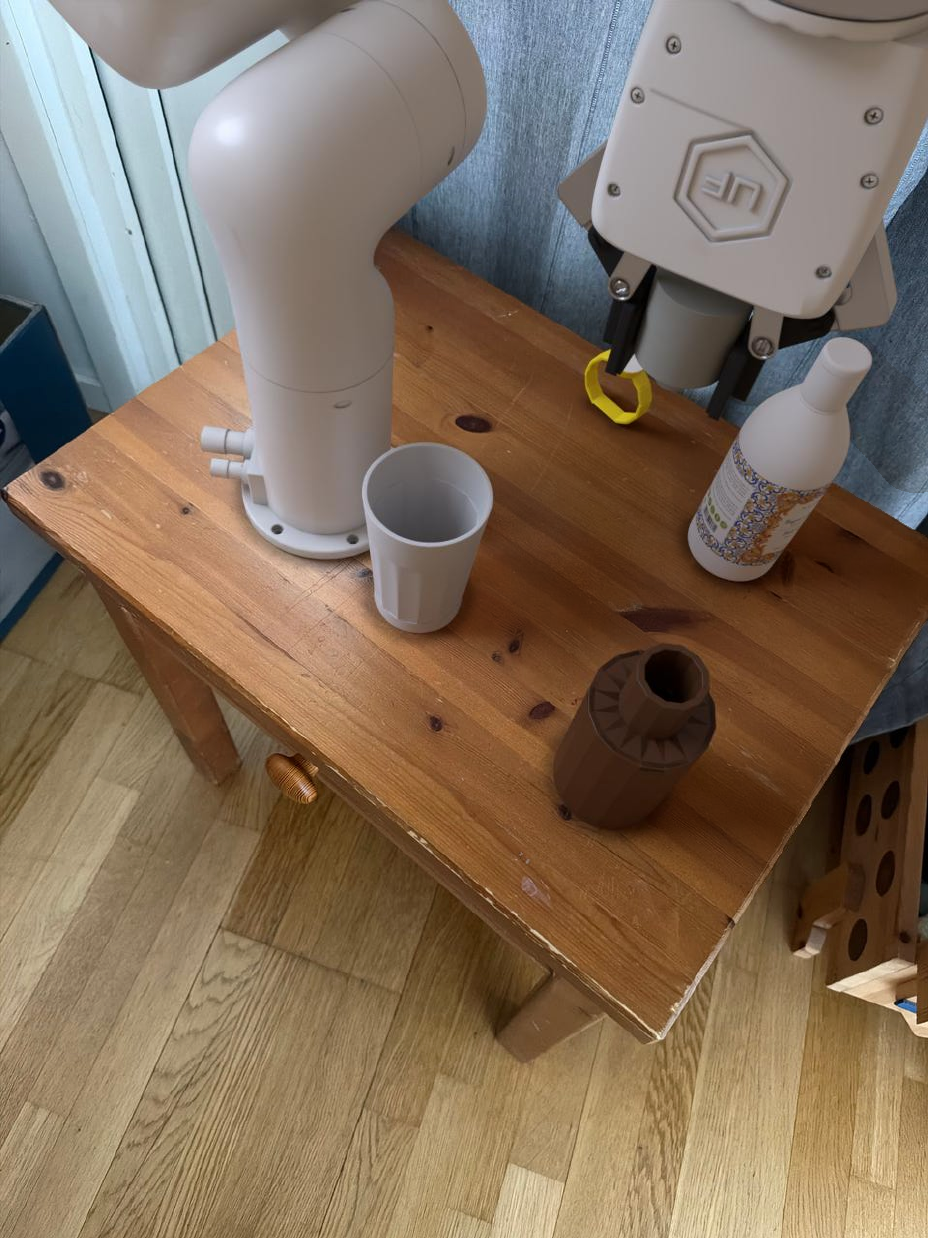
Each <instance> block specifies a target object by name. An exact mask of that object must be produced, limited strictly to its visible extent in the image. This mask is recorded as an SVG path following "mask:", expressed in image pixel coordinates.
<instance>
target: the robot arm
mask: <svg viewBox="0 0 928 1238" xmlns="http://www.w3.org/2000/svg"><path fill="white" fill-rule="evenodd" d="M46 1H47V2H48V3H49V4H50V5H51V6H52V7H53V9H54V10H55V11H56V12H57V13H58V15H60V16H61V18H62V19H63V20H64V21H65V22H66V24H68V25H69V27H70V28H72V30H73V31H74V32H75V33H76V34H77V36H78V37H80V38H81V39H82V40H83V42H84V43H85V44H86V45H87V46H88V47H89V48H90V49H91V50H92V51H93V52H94V53H95V54H96V55H97V56H98V57H99V58H100V59H101V60H102V61H103V62H104V63H105V64H106V65H107V66H109V67H110V68H111V69H112V70H113V71H115V73H117V74H118V75H119V76H121V77H122V78H124V79H125V80H127V81H128V82H130V83H131V84H133V85H135V86H137V87H139V88H144V89H148V90H158V91H159V90H160V91H162V90H168V89H172V88H177V87H179V86H183V85H184V84H187V83H189V82H191V81H194V80H196V79H198V78H199V77H201V76H203V75H205V74H207V73H209V72H210V71H213V70H214V69H216V68H218V67H219V66H221V65H222V64H224V63H226V62H227V61H229V60H231V59H232V58H235V56H237V55H239V54H241V53H242V52H244V51H245V50H247V49H248V48H250V47H252V46H253V45H255V44H257V43H258V42H260V41H262V40H264V39H265V38H266V37H268V36H270V35H271V34H273V33H274V32H276V31H277V30H278V31H279V32H280V33H282V35H283V36H284V37H285V38H286V39H287V40H288V42H286V43H284V44H283V45H282V46H280V47H278V48H277V49H275V50H274V51H272V52H270V53H269V54H268V55H266V56H264V57H263V58H261V59H260V60H258V61H256V62H255V63H253V64H252V65H251V66H249V67H247V68H246V69H245V70H243V71H242V72H241V73H239V74H238V75H237V76H236V77H234V78H233V79H232V80H230V81H229V82H228V83H227V84H226V85H225V86H224V87H223V88H222V89H221V90H220V91H219V92H218V93H216V95H215V96H214V97H213V98H212V100H211V101H210V102H209V103H208V104H207V106H206V107H205V108H204V109H203V111H202V113H201V114H200V116H199V117H198V119H197V121H196V123H195V125H194V128H193V131H192V134H191V137H190V141H189V147H188V154H187V158H188V159H187V165H188V166H187V168H188V175H189V180H190V184H191V189H192V192H193V195H194V197H195V201H196V204H197V205H198V209H199V211H200V214H201V216H202V219H203V221H204V224H205V227H206V228H207V231H208V233H209V236H210V238H211V241H212V243H213V245H214V249H215V251H216V253H217V257H218V259H219V262H220V266H221V268H222V272H223V275H224V278H225V282H226V287H227V290H228V295H229V299H230V303H231V309H232V314H233V315H232V316H233V320H234V326H235V332H236V338H237V345H238V348H239V351H240V357H241V363H242V369H243V376H244V382H245V387H246V388H245V389H246V393H247V399H248V400H247V401H248V406H249V414H250V418H251V425H252V427H247V429H246V430H245V432H244V431H237V430H230V428H226V427H220V426H211V425H204V426H203V428H202V430H201V435H200V448H201V451H202V452H204V453H210V454H211V453H212V454H219V455H225V456H226V455H233V456H234V455H235V456H241V457H243V459H244V461H243V462H241V461H234V460H232V459H225V458H218V457H212V459H211V460H210V465H209V473H210V476H211V477H212V478H219V479H228V480H229V479H234V480H241V487H240V488H241V496H242V502H243V506H244V511H245V513H246V516H247V517H248V519H249V521H250V524H251V525H252V526H253V528H254V529H255V530H256V531H257V532H258V533H259V534H260V536H262V538H263V539H265V540H266V541H268V542H269V543H270V544H272V545H273V546H274V547H276V548H278V549H280V550H283V551H284V552H286V553H288V554H291V555H295V556H298V557H302V558H305V559H306V558H307V559H313V560H314V559H316V560H339V559H345V558H349V557H354V556H357V555H360V554H362V553H365V552H368V551H370V546H369V538H368V530H367V524H366V517H365V510H364V504H363V497H362V487H363V482H364V479H365V476H366V474H367V472H368V470H369V468H370V467H371V466H372V464H373V463H374V462H375V461H376V460H377V459H378V458H379V457H380V456H382V455H383V454H385V453H386V452H388V451H390V450H392V449H394V448H395V447H394V446H392V422H393V421H392V420H393V394H394V393H393V392H394V391H393V390H394V366H395V365H394V362H395V332H396V331H395V330H396V315H395V313H396V312H395V303H394V298H393V294H392V290H391V287H390V285H389V283H388V282H387V279H386V278H385V277H384V275H383V274H382V273H381V271H379V269H378V268H376V265H375V264H374V263H375V262H374V261H375V253H376V250H377V247H378V245H379V243H380V241H381V240H382V238H383V236H384V235H385V234H386V233H387V232H388V231H389V230H390V229H391V228H392V227H393V226H394V225H395V224H396V223H397V222H398V221H399V220H400V219H402V218H403V217H404V216H405V215H406V214H407V213H408V212H409V211H410V210H411V209H412V208H413V207H414V206H415V205H416V204H417V203H418V202H420V201H421V200H422V199H423V198H424V197H425V196H426V195H428V194H429V193H430V192H432V190H434V189H435V188H436V187H437V186H438V185H439V184H441V183H442V182H443V181H444V180H445V179H446V178H447V177H449V176H450V174H451V173H453V171H454V170H456V169H457V168H458V167H459V166H460V165H461V164H462V163H463V162H464V161H465V160H466V159H467V158H468V156H469V155H470V154H471V152H473V150H474V149H475V147H476V145H477V144H478V142H479V140H480V137H481V135H482V133H483V129H484V127H485V124H486V119H487V113H488V89H487V82H486V75H485V72H484V68H483V65H482V62H481V60H480V57H479V54H478V51H477V49H476V47H475V45H474V42H473V41H472V39H471V36H470V35H469V33H468V31H467V29H466V27H465V25H464V24H463V22H462V20H461V19H460V17H459V16H458V14H457V12H456V11H455V10H454V8H453V7H452V5H451V4H450V2H449V0H46ZM647 15H648V16H647V18H646V21H645V23H644V26H643V29H642V31H641V35H640V38H639V40H638V44H637V46H636V50H635V53H634V55H633V58H632V61H631V65H630V67H629V68H630V69H629V71H628V74H627V77H626V80H625V83H624V86H623V90H622V93H621V96H620V98H619V103H618V106H617V109H616V112H615V116H614V119H613V123H612V126H611V128H610V132H609V135H608V139H607V140H605V141H604V142H603V143H602V144H601V145H600V146H598V147H597V148H595V150H594V151H592V152H591V153H590V154H589V155H587V156H586V157H585V158H584V159H583V160H581V161H580V162H578V164H576V165H575V166H574V167H573V168H572V169H571V170H570V171H569V172H568V174H567V175H566V176H565V177H564V178H563V180H562V181H561V182H560V183H559V185H558V186H557V189H556V190H557V191H556V193H557V197H558V198H559V200H560V202H561V203H562V204H563V205H564V207H565V208H566V210H567V211H568V212H569V213H570V215H571V216H572V217H573V218H574V220H575V222H577V224H578V225H579V226H580V228H581V229H583V228H584V229H585V231H586V232H587V240H588V244H589V245H590V246H591V248H592V251H594V254H595V255H596V258H598V260H599V262H600V265H601V266H602V267H603V269H604V271H605V273H606V275H607V276H608V278H609V279H608V280H607V284H606V289H607V292H608V294H609V295H610V296H611V297H612V302H611V306H610V308H609V309H610V310H609V313H608V316H607V320H606V323H605V324H606V325H605V327H604V332H603V335H602V342H603V343H606V344H608V345H611V348H610V350H611V351H610V354H609V358H608V361H606V365H605V370H604V372H605V373H607V374H609V375H611V376H613V377H616V376H619V375H621V373H622V372H623V370H624V369H625V367H626V366H627V364H628V363H629V361H630V360H631V358H632V357H633V355H634V342H635V339H636V336H637V333H638V329H639V326H640V323H641V320H642V316H643V313H644V310H645V307H646V304H647V300H648V296H649V293H650V290H651V287H652V283H653V280H654V277H655V274H656V271H657V267H660V268H663V269H665V270H667V271H670V272H672V273H675V274H677V275H680V276H682V277H684V278H687V279H689V280H692V281H694V282H697V283H699V284H702V285H704V286H707V287H709V288H711V289H714V290H716V291H719V292H721V293H724V294H726V295H729V296H731V297H734V298H736V299H739V300H741V301H744V302H746V303H749V304H751V305H754V309H753V312H752V314H751V317H750V319H749V321H748V323H747V326H746V328H745V330H744V331H743V333H742V334H741V335H740V337H739V339H738V341H737V342H736V344H735V346H734V348H733V350H732V352H731V354H730V356H729V358H728V360H727V362H726V365H725V367H724V369H723V372H722V374H721V376H720V379H719V381H718V382H716V383H717V384H716V386H715V387H714V390H713V392H712V395H711V396H710V400H709V401H708V404H707V407H706V409H705V411H704V412H705V413H706V414H707V418H709V419H712V420H714V421H716V422H719V420H720V419H721V417H722V415H723V414H724V412H725V410H726V408H727V407H728V404H729V403H730V400H731V398H734V399H736V400H739V401H741V402H743V403H746V401H747V400H748V398H749V396H750V394H751V391H752V390H753V388H754V386H755V385H756V382H757V380H758V378H759V376H760V374H761V372H762V369H763V368H764V366H765V363H766V361H767V360H770V359H772V358H774V356H776V354H777V352H778V351H780V350H783V349H787V348H789V347H793V346H797V345H799V344H804V343H808V342H811V341H815V340H818V339H821V338H824V337H826V336H827V335H828V334H829V333H831V332H839V333H845V332H852V331H860V330H868V329H875V328H880V327H884V326H886V324H888V322H889V321H890V319H891V316H892V314H893V311H894V309H895V307H896V304H897V302H898V292H897V287H896V281H895V276H894V275H895V274H894V270H893V265H892V259H891V254H890V249H889V243H888V237H887V232H886V227H885V221H884V216H885V213H886V211H887V209H888V208H889V206H890V203H891V201H892V198H893V197H894V194H895V193H896V190H897V188H898V186H899V184H900V182H901V180H902V177H903V175H904V173H905V171H906V168H907V167H908V165H909V163H910V160H911V159H912V156H913V155H914V152H915V150H916V147H917V145H918V143H919V141H920V138H921V136H922V134H923V131H924V130H925V129H924V128H925V126H926V124H927V122H928V0H653V2H652V5H651V8H650V10H649V12H648V14H647ZM848 284H849V286H848ZM847 286H848V287H847ZM617 374H618V375H617Z"/></svg>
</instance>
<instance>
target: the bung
mask: <svg viewBox="0 0 928 1238" xmlns="http://www.w3.org/2000/svg"><path fill="white" fill-rule="evenodd" d="M656 267H657V271H656V274H655V277H654V280H653V283H652V287H651V290H650V293H649V296H648V300H647V304H646V307H645V310H644V313H643V316H642V320H641V323H640V326H639V329H638V333H637V336H636V339H635V342H634V354H635V357H636V359H637V361H638V363H639V365H640V366H641V367H642V369H643V370H644V371H645V373H646V375H649V376H650V377H651V378H652V379H654V381H655V383H656V384H657V385H658V386H659V388H661V389H663V390H665V391H668V392H674V393H678V392H683V391H685V390H698V389H703V388H704V389H705V388H707V387H710V386H712V385H715V384H716V383H718V381H719V379H720V376H721V374H722V372H723V369H724V367H725V365H726V362H727V360H728V358H729V356H730V354H731V352H732V350H733V348H734V346H735V344H736V342H737V341H738V339H739V337H740V335H741V334H742V333H743V331H744V330H745V328H746V326H747V323H748V321H749V319H750V318H751V316H752V315H753V309H754V305H751V304H749V303H746V302H744V301H741V300H739V299H736V298H734V297H731V296H729V295H726V294H724V293H721V292H719V291H716V290H714V289H711V288H709V287H707V286H704V285H702V284H699V283H697V282H694V281H692V280H689V279H687V278H684V277H682V276H680V275H677V274H675V273H672V272H670V271H667V270H665V269H663V268H660V267H658V266H656Z"/></svg>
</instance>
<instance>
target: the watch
mask: <svg viewBox="0 0 928 1238" xmlns="http://www.w3.org/2000/svg"><path fill="white" fill-rule="evenodd" d="M610 351H611V349H607V350H606V351H603V352H601V353H599V354H598V355H596V356H595V357H593V358H592V359H591V360H590V361H589V362H588V364H587V366H586V368H585V371H584V387H585V391H586V393H587V395H588V398H589V400H590V403H591V404H593V405H595V406H596V407H597V408H598V409H599V410H600V411H601V412H603V413H604V414H605V415H606V416H607V417H608V418H610V419H611V421H613V422H614V423H615V424H621V425H629V424H631V423H633V422H634V421H636V420H638V419H639V418H641V417H642V416H643V415H644V414H646V413H647V412H648V411H649V408H650V406H651V403H652V401H653V394H652V384H651V381H650V379H649V377H648V374H647V373H646V372H645V371H644V370H643V369H642V367H641V366H640V365H639V363H638V361H637V359H636V357H635V354H634V355H633V357H632V358H631V360H630V361H629V363H628V364H627V366H626V367H625V369H624V370H623V372H622V373H621V375H618V374H617V375H616V376H619V377H621V378H622V379H623V378H624V379H627V380H631V381H632V383H633V385H634V387H635V388H636V389H635V390H636V392H637V399H638V406H637V408H636V412H625V411H624V410H623V409H622V408H621V407H619V406H618V404H616V403H615V402H614V401H613V400H612V399H610V398H609V397H608V396H607V395H606V394H604V391H603V389H602V387H601V384H600V382H599V373H598V372H599V369H598V367H600V364H601V362H602V361H604V362H607V361H608V358H609V354H610Z"/></svg>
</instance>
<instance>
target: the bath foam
mask: <svg viewBox="0 0 928 1238" xmlns="http://www.w3.org/2000/svg"><path fill="white" fill-rule="evenodd" d="M819 352H820V353H819V354H818V355H817V358H816V359H815V361H814V363H813V364H812V366H811V367H810V369H809V371H808V373H807V375H806V376H805V379H804V380H803V382H801V383H798V384H796V385H793V386H790V387H788V388H785V389H783V390H781V391H778V392H776V393H775V394H773V395H771V396H769V397H768V398H767V399H765V400H764V401H762V402H761V403H760V404H759V405H758V406H757V407H756V408H755V409H754V410H753V411H752V412H751V414H750V415H749V416H748V417H747V418H746V419H745V421H744V422H743V424H742V426H741V428H740V429H739V431H738V433H737V435H736V436H735V439H734V441H733V442H732V444H731V447H730V448H729V450H728V452H727V453H726V456H725V457H724V459H723V461H722V463H721V465H720V467H719V469H718V471H717V472H716V474H715V476H714V478H713V480H712V482H711V484H710V486H709V488H708V489H707V491H706V493H705V495H704V497H703V499H702V501H701V502H700V504H699V506H698V509H697V510H696V513H695V515H694V516H693V518H692V520H691V523H690V524H689V528H688V533H687V542H688V546H689V549H690V552H691V554H692V556H693V557H694V559H695V560H696V562H698V564H699V565H700V566H701V567H702V568H703V569H705V570H706V571H707V572H709V573H711V574H712V575H714V576H716V577H717V578H721V579H723V580H727V581H732V582H749V581H751V580H755V579H759V578H760V577H762V576H763V575H765V574H766V573H768V571H769V570H770V569H771V568H772V567H773V566H774V564H775V563H776V561H777V560H778V559H779V558H780V556H781V554H782V553H784V551H785V549H786V548H787V547H788V545H789V543H790V542H791V541H792V540H793V538H794V537H795V535H796V534H797V532H798V531H799V530H800V528H801V526H803V524H804V523H805V522H806V520H807V519H808V517H809V516H810V514H811V513H812V512H813V510H814V509H815V507H816V506H817V504H818V503H819V502H820V500H821V499H822V497H823V496H824V495H825V493H826V492H827V491H828V489H829V488H830V486H831V485H832V484H833V482H834V481H835V479H837V476H839V473H840V471H841V469H842V467H843V465H844V463H845V461H846V458H847V454H848V451H849V449H850V441H851V427H850V419H849V415H848V408H847V404H848V402H849V401H850V399H851V398H852V397H853V396H854V394H855V392H856V391H857V389H858V388H859V386H860V384H861V383H862V381H863V380H864V378H865V377H866V375H867V374H868V372H869V370H870V369H871V367H872V365H873V355H872V354H871V352H870V350H869V349H868V348H867V347H866V346H865V345H864V343H861V342H860V341H858V340H856V339H853V338H851V337H844V336H840V337H839V336H838V337H834V338H831V339H830V340H828V341H826V343H825V344H824V346H823V347H822V348H821V351H819Z"/></svg>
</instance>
